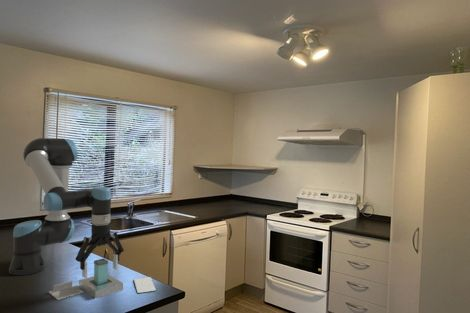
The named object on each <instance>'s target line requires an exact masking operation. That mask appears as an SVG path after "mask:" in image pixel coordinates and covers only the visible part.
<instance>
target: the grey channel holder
mask: <svg viewBox="0 0 470 313" xmlns="http://www.w3.org/2000/svg"><path fill="white" fill-rule="evenodd" d="M52 288H53V290H49V291H48V294H49V295H51V296H52V297H53V298H55V299H56V300H57V301H59V300H63V299H67V298H69V296H70V297H72V296H76V294H77V295H80V294H83V293H84V290H82V289H81V288H79V285H75V284H73V281H72V280H70V281H65V282H62V283H58V284H53V285H52ZM66 297H67V298H66Z"/></svg>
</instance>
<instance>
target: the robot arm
mask: <svg viewBox="0 0 470 313" xmlns="http://www.w3.org/2000/svg"><path fill="white" fill-rule="evenodd" d="M78 155H79V154H78V147H77V145H76V143H75V141H74V140H72V139H69V138H49V137H48V138H45V137H39V138H35V139H33V140H31V141H30V142H28V144H27V145H26V146H25V148H24V150H23V156H22V157H23V159H24V161H25V164H26V165H27V167H30V168H31V170H32V172H33V174H34V175H35V178H36V180H37V181H38V184H40V187H41V188H42V190H43V192H44V194H45V195H44V196H43V208H44V209H45V210H46V211H47V212H48V214H47V215H45V217H44V221H43V222H42V220H40V219H34V220H28V221H27V220H26V221H23V222H20V223H18V224H15V226H14V228H13V233H12V237H13V240H12V241H13V244H12V245H13V249H12V250H13V254H12V255H13V256H12V259H11V262H10V265H9V268H8V274H9V275H13V276H26V275H32V274H33V275H34V274H37V273H39V272H40V273H41V271H44V270H45V269H46V262H45V260H44V259H45V258H44V256H43V253H42V247H45V246H49V245H55V244H62V243H65V242H69V241H70V240H71V239H72V238H73V236H74V234H75V222H74V220H73V218H71V216H70V215H69V213H68V210H72V209H73V210H74V209H82V208H90V209H91V235H90V236H89V237H87V236H84V237H83V240H82V241H83V242H82V244H81V246H80V249H79V250H78V252H77V255H76V257H75V258H74V259H75V261H77V262H79V268H80V270H81V271H82V273H81V275H82V277H83V279H85V278H88V277H87V276H88V274H87V273H88V261H87V259H88V258H89V256H90V255H91V254H92V253H93V252H94V250H95V249H96V248H97V247H101V246H106V245H107V246H108V247H109V248H110V249H111V251H112V252H114V253H113V254H112V269H114V270H116V271H117V270H118V269H119V264H118V262H120V255H121V254H122V253H123V252H124V251H125V250H124V248H123V246H122V244H121V241H120V239H119V237H118V233H117V232H116V231H112V232H111V207H112V193H111V188H110V187H108V186H95V187H93V188H92V189H91V188H83V189H81V190H71V191H69V176H70V175H69V174H70V173H69V172H70V168H72V166H73V162H75V161H77V159H78ZM110 239H112V240H113V242H114V244H115V245H114V244H113V242H111V241H110ZM90 242H91V243H90ZM88 245H89V246H88Z"/></svg>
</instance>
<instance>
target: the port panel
mask: <svg viewBox="0 0 470 313" xmlns="http://www.w3.org/2000/svg"><path fill="white" fill-rule="evenodd" d="M78 286H79V289H80V290H82V291H83V292H85V293H87V294H88V295H89V294H90V295H89V296H91V297H92V298H93V299H95V298H96V299H98V297H99V298H101V296H102V297H105V296H108V295H111V293H112V294H115V293H118V292H121V291H123V290H124V282H122V281H120V280H118V279H117V278H115V277H113V276H111V275H109V274H108V275H107V282H105V283H102V284H98V285H97V284H95V283H94V275H93V276H90V277H87V278H81V279H79V280H78ZM114 292H115V293H114ZM104 295H105V296H104Z"/></svg>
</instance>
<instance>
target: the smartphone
mask: <svg viewBox="0 0 470 313" xmlns="http://www.w3.org/2000/svg"><path fill="white" fill-rule="evenodd" d="M133 285H134V286H135V287H134V288H135V291H136V294H138V295H141V294H147V293H154V292H155V293H156V292H157V289H156V286H155V283H154V281H153V279H152V276H144V277H138V278H134V279H133Z"/></svg>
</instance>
